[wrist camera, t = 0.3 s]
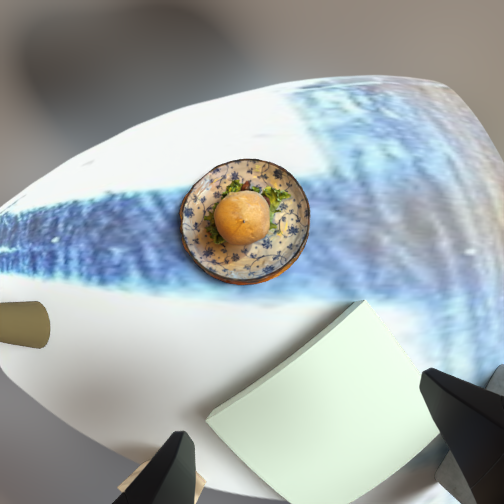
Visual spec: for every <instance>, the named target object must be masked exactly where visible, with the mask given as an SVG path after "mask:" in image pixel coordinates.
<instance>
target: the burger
mask: <svg viewBox="0 0 504 504" xmlns="http://www.w3.org/2000/svg"><path fill="white" fill-rule="evenodd" d="M179 215H180V218H181V227H180V232H181V234H182V242H183V245H184V248H185V249H186V251H187V252H188V253H189V255H190V256H191V257H192V258H193V260H194V261H195V263H197V264H198V265H199V267H200V268H201V269H202V270H203V271H204V272H206V273H207V274H209V275H210V276H212V277H214V278H216V279H219V280H221V281H224V282H226V283H231V284H237V285H246V284H258V283H262V282H266V281H268V280H270V279H273V278H275V277H277V276H279V275H280V274H282V273H283V272H284V271H286V270H287V269H288V268H290V266H291V265H292V264H293V263H294V262H295V261H296V260H297V259H298V257H299V256H300V254H301V252H302V251H303V249H304V247H305V245H306V242H307V239H308V236H309V229H310V207H309V203H308V199H307V197H306V195H305V192H304V191H303V188H302V186H301V184H300V183H299V182H298V181H297V180H296V179H295V178H294V177H293V175H292V174H291V173H289V172H288V171H287V170H286V169H284V168H283V167H281V166H278V165H276V164H274V163H271V162H267V161H262V160H259V159H239V160H234V161H230V162H227V163H224V164H221V165H218V166H216V167H214V168H213V169H212V170H211V171H209V172H208V173H207V174H206V175H205V176H204V177H202V178H201V179H200V180H199V181H198V182H196V183H195V184H194V185H193V187H192V189H191V190H190V191H189V193H188V194H186V196H185V197H184V200H183V202H182V205H181V208H180V212H179Z"/></svg>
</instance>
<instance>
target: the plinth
mask: <svg viewBox="0 0 504 504" xmlns="http://www.w3.org/2000/svg"><path fill="white" fill-rule="evenodd" d="M420 380H421V374H420V373H419V371H418V370H417V368H416V367H415V365H414V364H413V363H412V361H411V360H410V358H409V357H408V355H407V354H406V353H405V351H404V350H403V349H402V347H401V346H400V344H399V343H398V342H397V340H396V339H395V338H394V336H393V335H392V334H391V332H390V331H389V330H388V328H387V327H386V326H385V324H384V323H383V322H382V320H381V319H380V318H379V316H378V315H377V314H376V312H375V311H374V310H373V309H372V307H371V306H370V305H369V303H368V302H367V301H366V300H361V301H356V302H354V303H353V304H352V305H351V306H350V307H349V308H347V309H346V310H345V311H344V312H343V313H342V314H341V315H340V316H338V317H337V318H336V319H335V320H334V321H333V322H332V323H330V324H329V325H328V326H327V327H326V328H325V329H323V330H322V331H321V332H320V333H319V334H317V335H316V336H315V337H314V338H313V339H311V340H310V341H309V342H308V343H306V344H305V345H304V346H303V347H301V348H300V349H299V350H298V351H296V352H295V353H294V354H292V355H291V356H290V357H288V358H287V359H286V360H285V361H283V362H282V363H281V364H279V365H278V366H277V367H275V368H274V369H272V370H271V371H270V372H268V373H267V374H266V375H264V376H263V377H261V378H260V379H259V380H257V381H256V382H254V383H253V384H251V385H250V386H249V387H247V388H246V389H244V390H243V391H241V392H240V393H238V394H237V395H235V396H234V397H232V398H231V399H229V400H228V401H226V402H224V403H223V404H221V405H220V406H218V407H217V408H215V409H213V411H212V412H211V413H210V415H209V416H208V418H207V419H206V420H205V421H206V423H207V424H208V425H209V426H210V427H211V428H212V429H213V431H214V432H215V433H216V434H217V435H218V436H219V437H220V438H221V439H222V440H223V441H224V442H225V444H226V445H227V446H228V447H229V448H230V449H231V450H232V451H233V452H234V453H235V454H236V455H237V456H238V457H239V458H240V459H241V460H242V461H243V462H244V463H245V464H246V465H247V466H248V467H249V468H250V469H252V470H253V471H254V472H255V473H256V474H257V475H258V476H259V477H260V478H261V479H262V480H264V481H265V482H266V483H267V484H268V485H269V486H270V487H272V488H273V489H274V490H275V491H276V492H277V493H279V494H280V495H281V496H282V497H284V498H285V499H286V500H287V501H289V502H290V503H291V504H350V503H351V502H353V501H355V500H356V499H358V498H359V497H361V496H363V495H364V494H366V493H367V492H369V491H370V490H372V489H373V488H375V487H376V486H377V485H379V484H380V483H382V482H383V481H384V480H386V479H387V478H389V477H390V476H391V475H393V474H394V473H395V472H396V471H398V470H399V469H400V468H401V467H403V466H404V465H405V464H406V463H408V462H409V461H410V460H411V459H412V458H413V457H415V456H416V455H417V454H418V453H419V452H420V451H421V450H423V449H424V448H425V447H426V446H427V445H428V444H429V443H430V442H431V441H432V440H433V439H434V438H435V437H436V436H437V435H438V434H439V433H440V431H439V430H438V428H437V426H436V424H435V423H434V421H433V419H432V417H431V415H430V412H429V410H428V408H427V405H426V403H425V401H424V399H423V396H422V394H421V392H420V389H419V384H420Z"/></svg>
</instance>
